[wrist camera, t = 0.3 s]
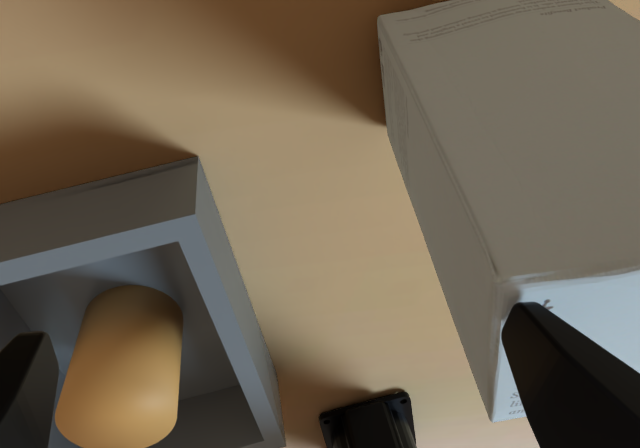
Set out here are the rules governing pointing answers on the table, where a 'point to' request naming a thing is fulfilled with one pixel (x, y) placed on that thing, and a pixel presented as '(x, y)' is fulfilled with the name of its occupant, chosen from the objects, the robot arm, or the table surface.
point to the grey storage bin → (151, 271)
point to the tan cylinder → (123, 371)
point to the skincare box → (521, 166)
